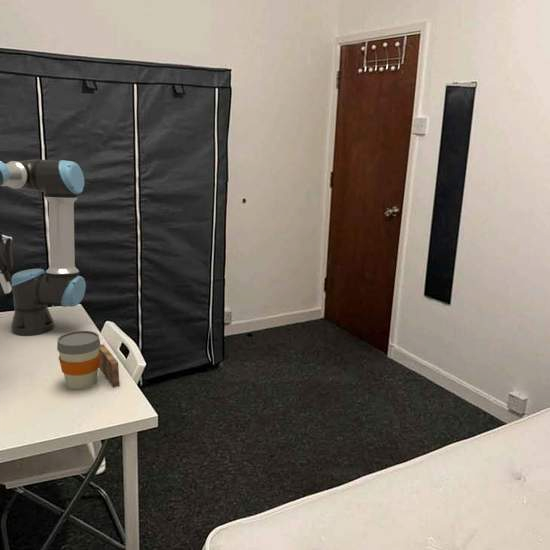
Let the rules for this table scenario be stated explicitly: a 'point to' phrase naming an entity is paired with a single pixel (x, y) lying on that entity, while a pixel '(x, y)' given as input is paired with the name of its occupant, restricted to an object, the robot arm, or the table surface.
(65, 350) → the reusable coffee cup
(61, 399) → the table surface
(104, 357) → the board
